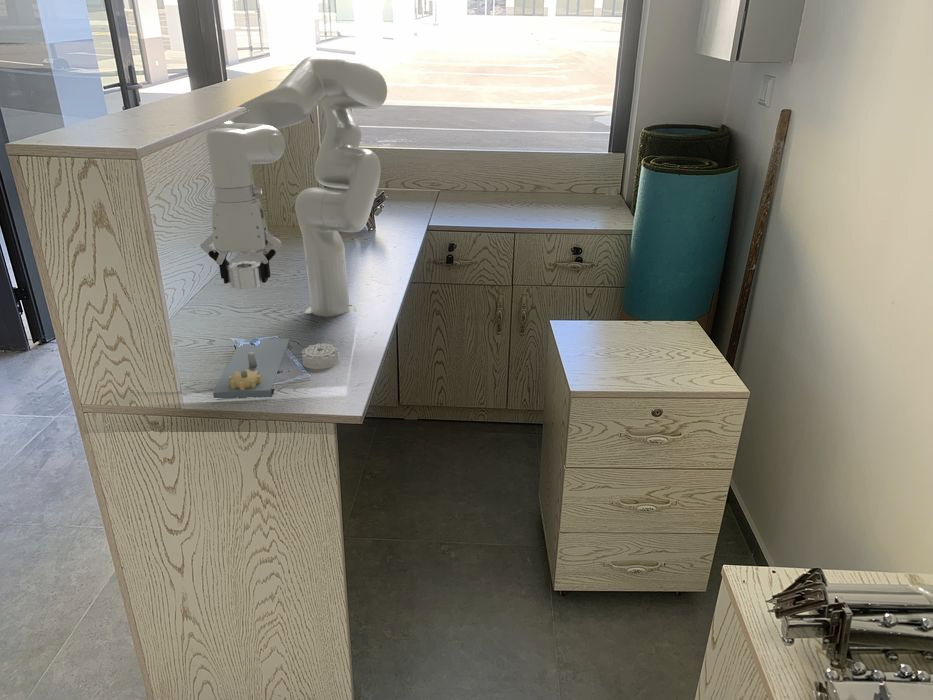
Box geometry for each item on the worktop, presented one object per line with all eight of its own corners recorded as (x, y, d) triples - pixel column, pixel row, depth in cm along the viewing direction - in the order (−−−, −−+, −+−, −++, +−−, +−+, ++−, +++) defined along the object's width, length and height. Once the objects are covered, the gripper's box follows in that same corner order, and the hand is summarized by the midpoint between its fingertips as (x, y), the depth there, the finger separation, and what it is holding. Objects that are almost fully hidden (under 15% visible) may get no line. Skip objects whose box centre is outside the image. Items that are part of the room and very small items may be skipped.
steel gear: (233, 279, 146) (231, 261, 145) (267, 278, 147) (265, 260, 145) (225, 290, 140) (222, 271, 139) (260, 289, 141) (258, 270, 139)
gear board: (241, 346, 157) (238, 328, 155) (290, 344, 158) (288, 326, 156) (214, 399, 135) (210, 378, 133) (271, 396, 135) (268, 376, 134)
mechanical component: (342, 378, 143) (348, 357, 152) (340, 359, 141) (346, 339, 150) (293, 379, 143) (302, 358, 152) (291, 360, 141) (300, 340, 150)
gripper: (283, 190, 140) (292, 274, 147) (195, 191, 139) (208, 276, 146) (276, 197, 133) (286, 286, 140) (183, 199, 132) (198, 288, 139)
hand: (246, 280), depth 143 cm, fingers closed on steel gear, 7 cm apart
